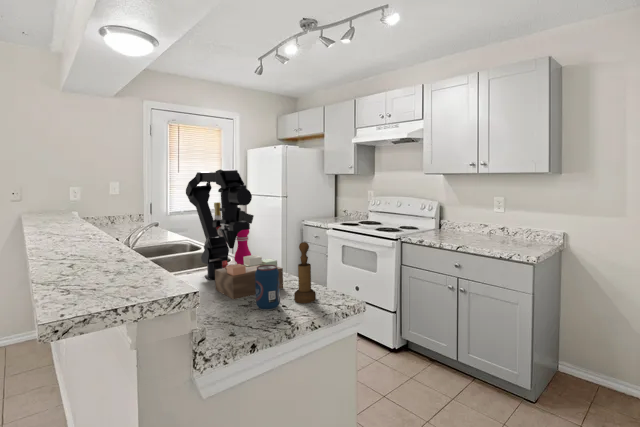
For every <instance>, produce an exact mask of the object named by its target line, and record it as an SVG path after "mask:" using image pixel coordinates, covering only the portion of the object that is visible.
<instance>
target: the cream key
mask: <svg viewBox="0 0 640 427" xmlns="http://www.w3.org/2000/svg"><path fill="white" fill-rule="evenodd" d="M262 258H263V256H260V255H257V254H251V256H245V257H244V264H246V265H249V266H253V265H258V264H262V260H263V259H262Z"/></svg>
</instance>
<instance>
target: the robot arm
mask: <svg viewBox="0 0 640 427" xmlns="http://www.w3.org/2000/svg"><path fill="white" fill-rule="evenodd" d="M195 174H196V175H195V176H194V177H193V178H192V179H190V181H188V183H187V185H186V188H185V195H186V197H187V199H188V200H189V203H191V204H192V205H193V206H194V207H195V209H196V212H197V215H198V218H199V221H200V224H201V228H202V232H203V234H204V237H205V241H204V245H203V249H204V251H203V252H202V254H201V256H200V258H201V259H200V260H201V263H202V264H206V265H207V266H206V268H207V274H206V275H204V277H205V278H206V279H207V280H210V281H212V280H215V270H216V269H222V268H223V263H222V261H227V262H228V258H229V253H230V252H229V251H230V249H234V248H235V245H236V241H237V240H236V239H237V238H236V237H237V234H238V233H239V232H240V231H242V230H248V229H249V230H250V229H251V225H252V223H253V220H254V216H255V215H253V214H251V213H247V212H246V211H243V210H242V208H241V207H239V206H248V205H250V203H251V201H252V198H253V196H252V193H251V191H250V190H249V189H247V185H246V184H245V182H244V181H243V179H242V177H241V174H240V173H239V171H238V169H234V168H233V169H224V168H223V169H218V170H215V171H214V172H212V171H211V172H210V171H198V172H196V173H195ZM200 183H206V184H200ZM211 183H215V184H216V185H218V186H220V187H219V188H218V191H217V192H218V193H220V204H221V208H219V211H220V212H221V219H215V220H214V216H213V215H212V211H211V208H210V204H209V199H210V196H211V195H210V192H211V190H212V184H211ZM219 226H221V229H219V230H220V231H221V233H222V235H223V236H220V235H218V232H217V229H216V227H219ZM226 242H227V243H226Z"/></svg>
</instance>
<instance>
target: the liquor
mask: <svg viewBox="0 0 640 427" xmlns="http://www.w3.org/2000/svg"><path fill="white" fill-rule="evenodd" d="M213 207H214V208H213V209H214V217H213V220H215V219H222V211H219V208H221V201H218V202H213ZM216 229H217V232H218V235H220V236H223V235H222V233H221V231H220V230H219V229H221V226H219V227H216ZM226 243H227V242H226ZM222 263H223V268H226V267H227V266H229V263H228V260H227V261H222Z"/></svg>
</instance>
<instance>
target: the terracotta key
mask: <svg viewBox="0 0 640 427" xmlns="http://www.w3.org/2000/svg"><path fill="white" fill-rule="evenodd" d="M226 267H227V273H228V274H230V275H233V276H235V275H240V274H245V273H246V266H244V265H241V264H237V263H235V264H230V265H227V266H226Z"/></svg>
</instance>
